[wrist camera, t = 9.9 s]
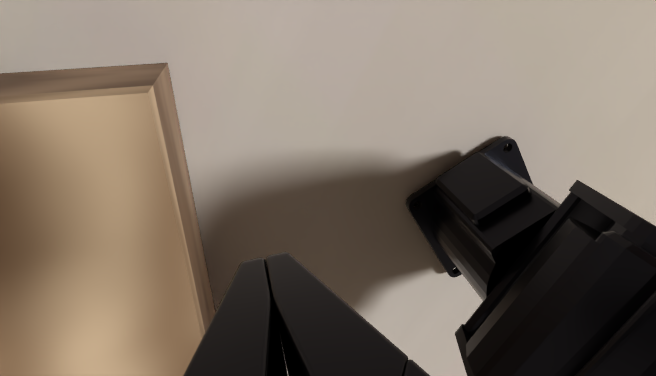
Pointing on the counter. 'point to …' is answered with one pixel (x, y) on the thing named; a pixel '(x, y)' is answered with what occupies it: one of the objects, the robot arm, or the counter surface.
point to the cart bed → (97, 226)
